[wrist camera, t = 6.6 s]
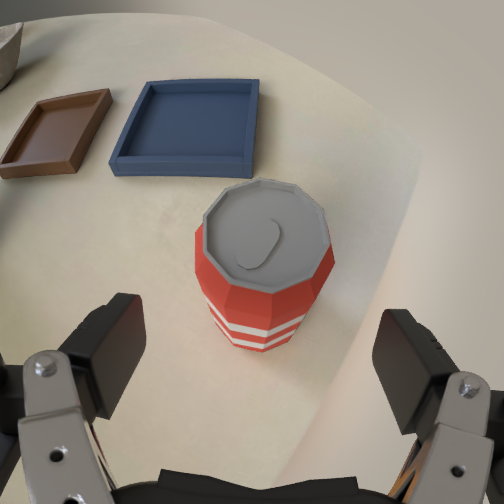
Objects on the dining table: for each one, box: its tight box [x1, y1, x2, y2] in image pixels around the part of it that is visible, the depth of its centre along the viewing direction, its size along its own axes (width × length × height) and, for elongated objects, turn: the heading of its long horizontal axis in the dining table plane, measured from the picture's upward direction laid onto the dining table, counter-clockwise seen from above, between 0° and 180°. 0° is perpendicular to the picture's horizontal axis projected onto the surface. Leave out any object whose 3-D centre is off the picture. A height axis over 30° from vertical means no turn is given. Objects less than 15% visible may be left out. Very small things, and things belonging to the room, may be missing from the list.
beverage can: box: [195, 178, 335, 352], centre depth 18 cm, size 6×6×12 cm
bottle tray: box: [0, 88, 113, 179], centre depth 31 cm, size 12×12×2 cm
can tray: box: [108, 79, 259, 179], centre depth 31 cm, size 14×14×2 cm
